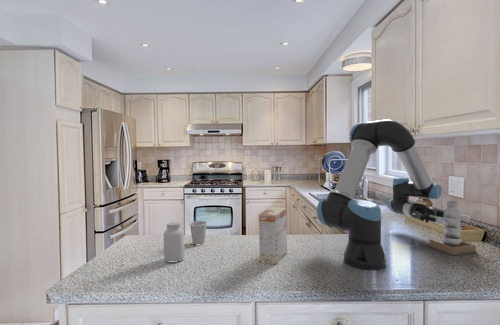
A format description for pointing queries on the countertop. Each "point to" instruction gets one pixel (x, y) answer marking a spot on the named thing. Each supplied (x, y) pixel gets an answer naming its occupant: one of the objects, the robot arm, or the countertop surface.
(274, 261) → the coffeecake box
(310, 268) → the countertop surface
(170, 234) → the pill bottle
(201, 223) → the dixie cup
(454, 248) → the tray
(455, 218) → the silver metal bottle
